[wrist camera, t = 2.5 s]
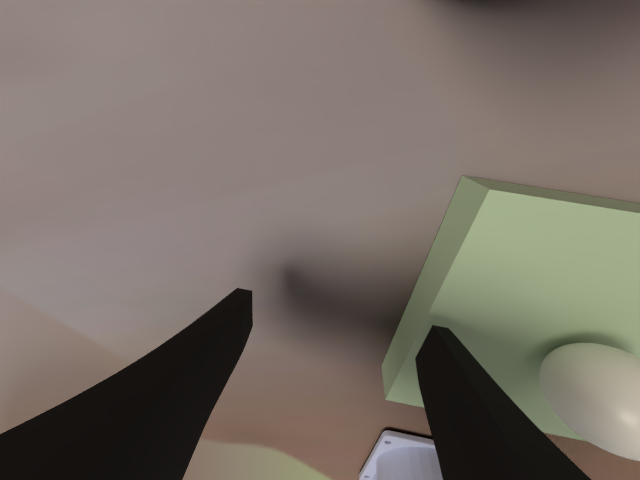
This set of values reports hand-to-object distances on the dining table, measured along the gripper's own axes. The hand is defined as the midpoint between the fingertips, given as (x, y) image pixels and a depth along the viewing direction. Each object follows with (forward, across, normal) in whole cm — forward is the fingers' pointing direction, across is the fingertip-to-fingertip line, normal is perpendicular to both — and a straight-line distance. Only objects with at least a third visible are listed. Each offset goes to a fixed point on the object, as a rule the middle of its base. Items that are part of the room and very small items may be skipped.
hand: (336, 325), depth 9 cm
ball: (-1, -10, 0) cm, 10 cm away
